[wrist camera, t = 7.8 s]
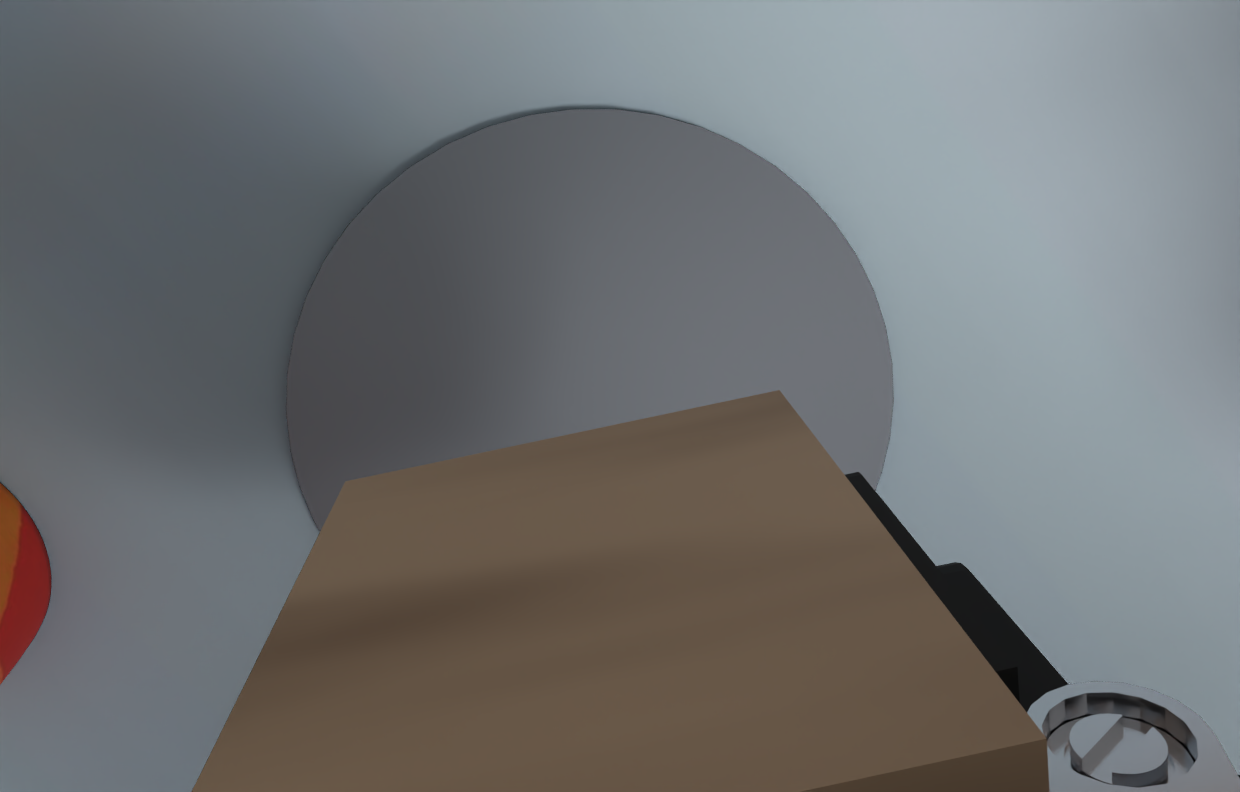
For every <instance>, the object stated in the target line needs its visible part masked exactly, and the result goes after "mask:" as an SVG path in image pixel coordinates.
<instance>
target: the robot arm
mask: <svg viewBox="0 0 1240 792" xmlns="http://www.w3.org/2000/svg"><path fill="white" fill-rule="evenodd" d="M845 476H846V477H847V479H848V480H849V481H850V483H851V484H852V485H853V487H854V488H855V489H856V490H857V492H858V493H859V494H860V496H861V497H862V498H863V500H864V501H865V502H866V503H867V505H868V506H869V507H870V509H871V510H872V511H873V513H874V514H875V515H876V517H877V518H878V519H879V520H880V522H881V523H882V524H883V526H884V527H885V528H886V530H887V531H888V532H889V534H890V535H891V536H892V537H893V539H894V540H895V541H896V543H897V544H898V545H899V547H900V548H901V549H902V550H903V552H904V553H905V554H906V556H907V557H908V558H909V560H910V561H911V562H912V564H913V565H914V566H915V567H916V569H917V570H918V571H919V573H920V574H921V575H922V577H923V578H924V579H925V580H926V582H927V583H928V584H929V586H930V587H931V588H932V590H933V591H934V592H935V594H936V595H937V596H938V597H939V599H940V600H941V601H942V603H943V604H944V605H945V607H946V608H947V609H948V610H949V612H950V613H951V614H952V616H953V617H954V618H955V620H956V621H957V622H958V624H959V625H960V626H961V627H962V629H963V630H964V631H965V633H966V634H967V635H968V637H969V638H970V639H971V640H972V642H973V643H974V644H975V646H976V647H977V648H978V650H979V651H980V652H981V654H982V655H983V656H984V657H985V659H986V660H987V661H988V663H989V664H990V665H991V667H992V668H993V669H994V670H995V672H996V673H997V674H998V676H999V677H1000V678H1001V680H1002V681H1003V682H1004V684H1005V685H1006V686H1007V687H1008V689H1009V690H1010V691H1011V693H1012V694H1013V695H1014V697H1015V698H1016V699H1017V700H1018V702H1019V703H1020V704H1021V706H1022V707H1023V708H1024V710H1025V711H1026V712H1027V714H1028V715H1029V716H1030V717H1031V719H1032V720H1033V721H1034V723H1035V724H1036V725H1037V727H1038V728H1039V729H1040V730H1041V732H1042V733H1043V734H1044V736H1045V737H1046V738H1047V753H1048V771H1049V789H1050V792H1240V775H1238V774H1237V773H1236V771H1235V769H1234V767H1233V765H1232V764H1231V762H1230V760H1229V758H1228V756H1227V754H1226V753H1225V751H1224V749H1223V747H1222V745H1221V744H1220V742H1219V740H1218V738H1217V736H1216V735H1215V733H1214V732H1213V731H1212V730H1211V728H1210V727H1209V726H1208V725H1207V723H1206V722H1205V721H1204V720H1203V719H1202V717H1201V716H1199V715H1198V714H1197V713H1195V712H1194V711H1192V710H1191V709H1190V708H1188V707H1187V706H1185V705H1184V704H1182V703H1181V702H1180V701H1178V700H1175V699H1173V698H1171V697H1168V696H1166V695H1164V694H1161V693H1159V692H1157V691H1155V690H1152V689H1148V688H1144V687H1139V686H1135V685H1131V684H1127V683H1120V682H1103V681H1091V682H1083V683H1076V684H1068V683H1067V682H1066V681H1065V680H1064V679H1063V678H1062V677H1061V675H1060V674H1059V673H1058V672H1057V671H1056V670H1055V668H1054V667H1053V666H1052V665H1051V664H1050V663H1049V662H1048V660H1047V659H1046V658H1045V657H1044V656H1043V655H1042V654H1041V652H1040V651H1039V650H1038V649H1037V648H1036V647H1035V645H1034V644H1033V643H1032V642H1031V641H1030V640H1029V639H1028V637H1027V636H1026V635H1025V634H1024V633H1023V632H1022V631H1021V629H1020V628H1019V627H1018V626H1017V625H1016V624H1015V623H1014V621H1013V620H1012V619H1011V618H1010V617H1009V616H1008V614H1007V613H1006V612H1005V611H1004V610H1003V609H1002V608H1001V606H1000V605H999V604H998V603H997V602H996V601H995V600H994V598H993V597H992V596H991V595H990V594H989V593H988V591H987V590H986V589H985V588H984V587H983V586H982V585H981V583H980V582H979V581H978V580H977V579H976V578H975V577H974V575H973V574H972V573H971V572H970V571H969V570H968V569H967V568H966V567H965V566H964V565H963V564H961V563H956V562H954V563H949V564H945V565H940V566H935V564H934V563H933V562H932V561H931V559H930V558H929V557H928V556H927V554H926V553H925V552H924V551H923V549H922V548H921V547H920V546H919V545H918V543H917V542H916V541H915V540H914V538H913V537H912V536H911V535H910V533H909V532H908V531H907V530H906V528H905V527H904V526H903V525H902V524H901V522H900V521H899V520H898V519H897V517H896V516H895V515H894V514H893V512H892V511H891V510H890V509H889V507H888V506H887V505H886V504H885V503H884V501H883V500H882V499H881V498H880V496H879V495H878V494H877V493H876V491H875V490H874V489H873V488H872V486H871V485H870V484H869V483H868V482H867V480H866V479H865V478H864V477H863V475H862V474H861V473H859V472H855V473H850V474H845Z"/></svg>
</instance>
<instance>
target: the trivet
mask: <svg viewBox="0 0 1240 792" xmlns="http://www.w3.org/2000/svg"><path fill="white" fill-rule="evenodd" d="M777 390H780V391H781V393H782V394H783V395H784V397H785V398H786V399H787V400H788V402H789V403H790V404H791V406H792V407H793V408H794V410H795V411H796V412H797V413H798V415H799V416H800V417H801V419H802V420H803V421H804V423H805V424H806V425H807V427H808V428H809V429H810V430H811V432H812V433H813V434H814V436H815V437H816V438H817V440H818V441H819V442H820V443H821V445H822V446H823V447H824V449H825V450H826V451H827V453H828V454H829V455H830V457H831V458H832V459H833V460H834V462H835V463H836V464H837V466H838V467H839V468H840V470H841V471H842V472H843V473H844V475H845V474H850V473H855V472H859V473H861V474H862V475H863V477H864V478H865V479H866V480H867V482H868V483H869V484H870V485H871V486H872V488H873V489H874V490H875V489H876V487H877V484H878V481H879V479H880V476H881V473H882V469H883V465H884V461H885V457H886V452H887V448H888V444H889V440H890V433H891V422H892V412H893V402H894V397H893V371H892V360H891V354H890V348H889V343H888V337H887V331H886V326H885V323H884V320H883V317H882V314H881V311H880V308H879V305H878V302H877V298H876V295H875V292H874V290H873V288H872V285H871V283H870V281H869V279H868V277H867V275H866V273H865V271H864V269H863V267H862V265H861V263H860V261H859V259H858V257H857V255H856V253H855V252H854V251H853V249H852V248H851V246H850V245H849V243H848V242H847V240H846V239H845V237H844V236H843V234H842V233H841V231H840V230H839V228H838V227H837V225H836V224H835V223H834V221H833V220H832V219H831V218H830V217H829V216H828V215H827V214H826V213H825V212H824V210H823V209H822V208H821V207H820V206H819V205H818V204H817V203H816V202H815V200H814V199H813V198H812V197H811V196H810V195H809V194H808V193H807V192H806V191H805V190H804V189H802V188H801V187H800V186H799V185H798V184H796V183H795V182H794V181H793V180H792V179H790V178H789V177H788V176H787V175H786V174H784V173H783V172H782V171H781V170H780V169H778V168H777V167H776V166H774V165H773V164H771V163H769V162H768V161H766V160H765V159H763V158H761V157H760V156H758V155H756V154H755V153H753V152H752V151H750V150H748V149H747V148H745V147H744V146H742V145H740V144H738V143H736V142H734V141H731V140H729V139H727V138H724V137H722V136H720V135H718V134H715V133H713V132H711V131H709V130H706V129H704V128H702V127H698V126H695V125H691V124H688V123H684V122H681V121H677V120H674V119H670V118H667V117H663V116H660V115H653V114H646V113H639V112H632V111H624V110H617V109H571V110H563V111H556V112H549V113H541V114H534V115H528V116H524V117H521V118H517V119H514V120H510V121H507V122H503V123H499V124H496V125H492V126H489V127H486V128H484V129H481V130H479V131H477V132H474V133H472V134H470V135H468V136H465V137H463V138H461V139H458V140H456V141H454V142H451V143H449V144H447V145H445V146H444V147H442V148H440V149H439V150H437V151H435V152H434V153H432V154H431V155H429V156H427V157H426V158H424V159H422V160H421V161H419V162H417V163H416V164H414V165H413V166H411V167H409V168H408V169H407V170H406V171H405V172H403V173H402V174H401V175H400V176H398V177H397V178H396V179H395V180H394V181H392V182H391V183H390V184H389V185H387V186H386V187H385V188H384V189H383V190H381V191H380V192H379V193H378V194H377V195H376V196H375V197H374V198H373V199H372V200H371V201H370V202H369V203H368V204H367V205H366V207H365V208H364V209H363V210H362V211H361V212H360V213H359V214H358V215H357V216H356V217H355V218H354V220H353V221H352V222H351V223H350V224H349V225H348V226H347V228H346V229H345V231H344V232H343V234H342V235H341V237H340V238H339V239H338V241H337V242H336V244H335V245H334V247H333V248H332V250H331V251H330V253H329V254H328V255H327V257H326V258H325V260H324V262H323V264H322V266H321V268H320V270H319V272H318V274H317V276H316V278H315V280H314V282H313V284H312V286H311V288H310V290H309V292H308V294H307V296H306V299H305V302H304V306H303V309H302V312H301V315H300V318H299V321H298V324H297V327H296V330H295V333H294V338H293V343H292V349H291V355H290V361H289V366H288V372H287V400H286V415H287V424H288V433H289V442H290V450H291V454H292V458H293V462H294V466H295V470H296V474H297V478H298V482H299V485H300V488H301V491H302V493H303V496H304V498H305V500H306V503H307V505H308V508H309V510H310V513H311V515H312V518H313V520H314V522H315V524H316V525H317V527H318V529H319V531H321V529H322V527H323V525H324V523H325V521H326V519H327V517H328V515H329V513H330V511H331V509H332V507H333V505H334V503H335V501H336V499H337V497H338V495H339V493H340V491H341V489H342V487H343V485H344V483H345V481H350V480H355V479H359V478H364V477H369V476H374V475H378V474H383V473H388V472H393V471H397V470H402V469H407V468H412V467H416V466H421V465H426V464H431V463H435V462H440V461H445V460H450V459H454V458H459V457H464V456H468V455H473V454H478V453H483V452H487V451H492V450H497V449H502V448H506V447H511V446H516V445H521V444H525V443H530V442H535V441H540V440H544V439H549V438H554V437H559V436H563V435H568V434H573V433H578V432H582V431H587V430H592V429H597V428H601V427H606V426H611V425H616V424H620V423H625V422H630V421H635V420H639V419H644V418H649V417H654V416H658V415H663V414H668V413H673V412H677V411H682V410H687V409H692V408H696V407H701V406H706V405H711V404H715V403H720V402H725V401H730V400H734V399H739V398H744V397H749V396H753V395H758V394H763V393H767V392H772V391H777Z"/></svg>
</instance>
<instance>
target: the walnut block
mask: <svg viewBox="0 0 1240 792" xmlns="http://www.w3.org/2000/svg"><path fill="white" fill-rule="evenodd" d="M192 792H1050V789H1049V771H1048V753H1047V738H1046V737H1045V736H1044V734H1043V733H1042V732H1041V730H1040V729H1039V728H1038V727H1037V725H1036V724H1035V723H1034V721H1033V720H1032V719H1031V717H1030V716H1029V715H1028V714H1027V712H1026V711H1025V710H1024V708H1023V707H1022V706H1021V704H1020V703H1019V702H1018V700H1017V699H1016V698H1015V697H1014V695H1013V694H1012V693H1011V691H1010V690H1009V689H1008V687H1007V686H1006V685H1005V684H1004V682H1003V681H1002V680H1001V678H1000V677H999V676H998V674H997V673H996V672H995V670H994V669H993V668H992V667H991V665H990V664H989V663H988V661H987V660H986V659H985V657H984V656H983V655H982V654H981V652H980V651H979V650H978V648H977V647H976V646H975V644H974V643H973V642H972V640H971V639H970V638H969V637H968V635H967V634H966V633H965V631H964V630H963V629H962V627H961V626H960V625H959V624H958V622H957V621H956V620H955V618H954V617H953V616H952V614H951V613H950V612H949V610H948V609H947V608H946V607H945V605H944V604H943V603H942V601H941V600H940V599H939V597H938V596H937V595H936V594H935V592H934V591H933V590H932V588H931V587H930V586H929V584H928V583H927V582H926V580H925V579H924V578H923V577H922V575H921V574H920V573H919V571H918V570H917V569H916V567H915V566H914V565H913V564H912V562H911V561H910V560H909V558H908V557H907V556H906V554H905V553H904V552H903V550H902V549H901V548H900V547H899V545H898V544H897V543H896V541H895V540H894V539H893V537H892V536H891V535H890V534H889V532H888V531H887V530H886V528H885V527H884V526H883V524H882V523H881V522H880V520H879V519H878V518H877V517H876V515H875V514H874V513H873V511H872V510H871V509H870V507H869V506H868V505H867V503H866V502H865V501H864V500H863V498H862V497H861V496H860V494H859V493H858V492H857V490H856V489H855V488H854V487H853V485H852V484H851V483H850V481H849V480H848V479H847V477H846V476H845V475H844V473H843V472H842V471H841V470H840V468H839V467H838V466H837V464H836V463H835V462H834V460H833V459H832V458H831V457H830V455H829V454H828V453H827V451H826V450H825V449H824V447H823V446H822V445H821V443H820V442H819V441H818V440H817V438H816V437H815V436H814V434H813V433H812V432H811V430H810V429H809V428H808V427H807V425H806V424H805V423H804V421H803V420H802V419H801V417H800V416H799V415H798V413H797V412H796V411H795V410H794V408H793V407H792V406H791V404H790V403H789V402H788V400H787V399H786V398H785V397H784V395H783V394H782V393H781V391H780V390H777V391H772V392H767V393H763V394H758V395H753V396H749V397H744V398H739V399H734V400H730V401H725V402H720V403H715V404H711V405H706V406H701V407H696V408H692V409H687V410H682V411H677V412H673V413H668V414H663V415H658V416H654V417H649V418H644V419H639V420H635V421H630V422H625V423H620V424H616V425H611V426H606V427H601V428H597V429H592V430H587V431H582V432H578V433H573V434H568V435H563V436H559V437H554V438H549V439H544V440H540V441H535V442H530V443H525V444H521V445H516V446H511V447H506V448H502V449H497V450H492V451H487V452H483V453H478V454H473V455H468V456H464V457H459V458H454V459H450V460H445V461H440V462H435V463H431V464H426V465H421V466H416V467H412V468H407V469H402V470H397V471H393V472H388V473H383V474H378V475H374V476H369V477H364V478H359V479H355V480H350V481H345V483H344V485H343V487H342V489H341V491H340V493H339V495H338V497H337V499H336V501H335V503H334V505H333V507H332V509H331V511H330V513H329V515H328V517H327V519H326V521H325V523H324V525H323V527H322V529H321V531H320V533H319V535H318V538H317V540H316V542H315V544H314V546H313V548H312V550H311V552H310V554H309V556H308V558H307V560H306V562H305V564H304V566H303V568H302V570H301V572H300V574H299V576H298V578H297V580H296V582H295V584H294V586H293V588H292V590H291V592H290V594H289V596H288V598H287V600H286V602H285V604H284V606H283V608H282V610H281V612H280V614H279V616H278V618H277V620H276V622H275V624H274V626H273V628H272V630H271V632H270V634H269V636H268V638H267V641H266V643H265V645H264V647H263V649H262V651H261V653H260V655H259V657H258V659H257V661H256V663H255V665H254V667H253V669H252V671H251V673H250V675H249V677H248V679H247V681H246V683H245V685H244V687H243V689H242V691H241V693H240V695H239V697H238V699H237V701H236V703H235V705H234V707H233V709H232V711H231V713H230V715H229V717H228V719H227V721H226V723H225V725H224V727H223V729H222V731H221V733H220V735H219V737H218V739H217V741H216V744H215V746H214V748H213V750H212V752H211V754H210V756H209V758H208V760H207V762H206V764H205V766H204V768H203V770H202V772H201V774H200V776H199V778H198V780H197V782H196V784H195V786H194V788H193V790H192Z"/></svg>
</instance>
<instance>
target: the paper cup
mask: <svg viewBox="0 0 1240 792" xmlns="http://www.w3.org/2000/svg"><path fill="white" fill-rule="evenodd" d="M50 595H51V569H50V563H49V558H48V554H47V551H46V548H45V545H44V542H43V540H42V537H41V535H40V533H39V531H38V529H37V527H36V525H35V524H34V522H33V520H32V519H31V517H30V516H29V514H28V513H27V511H26V510H25V509H24V507H23V506H22V505H21V503H20V502H19V501H18V500H17V499H16V498H15V497H14V496H13V494H12V493H10V492H9V491H8V490H7V489H6V488H5V487H4V486H3V485H2V484H1V483H0V684H1V683H2V682H3V680H4V679H5V678H6V677H7V675H8V674H9V673H10V671H11V670H12V669H13V667H14V666H15V665H16V663H17V662H18V661H19V659H20V658H21V656H22V655H23V653H24V652H25V650H26V649H27V648H28V646H29V645H30V643H31V642H32V640H33V639H34V637H35V636H36V634H37V632H38V630H39V628H40V626H41V624H42V622H43V620H44V617H45V615H46V612H47V609H48V605H49V601H50Z"/></svg>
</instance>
